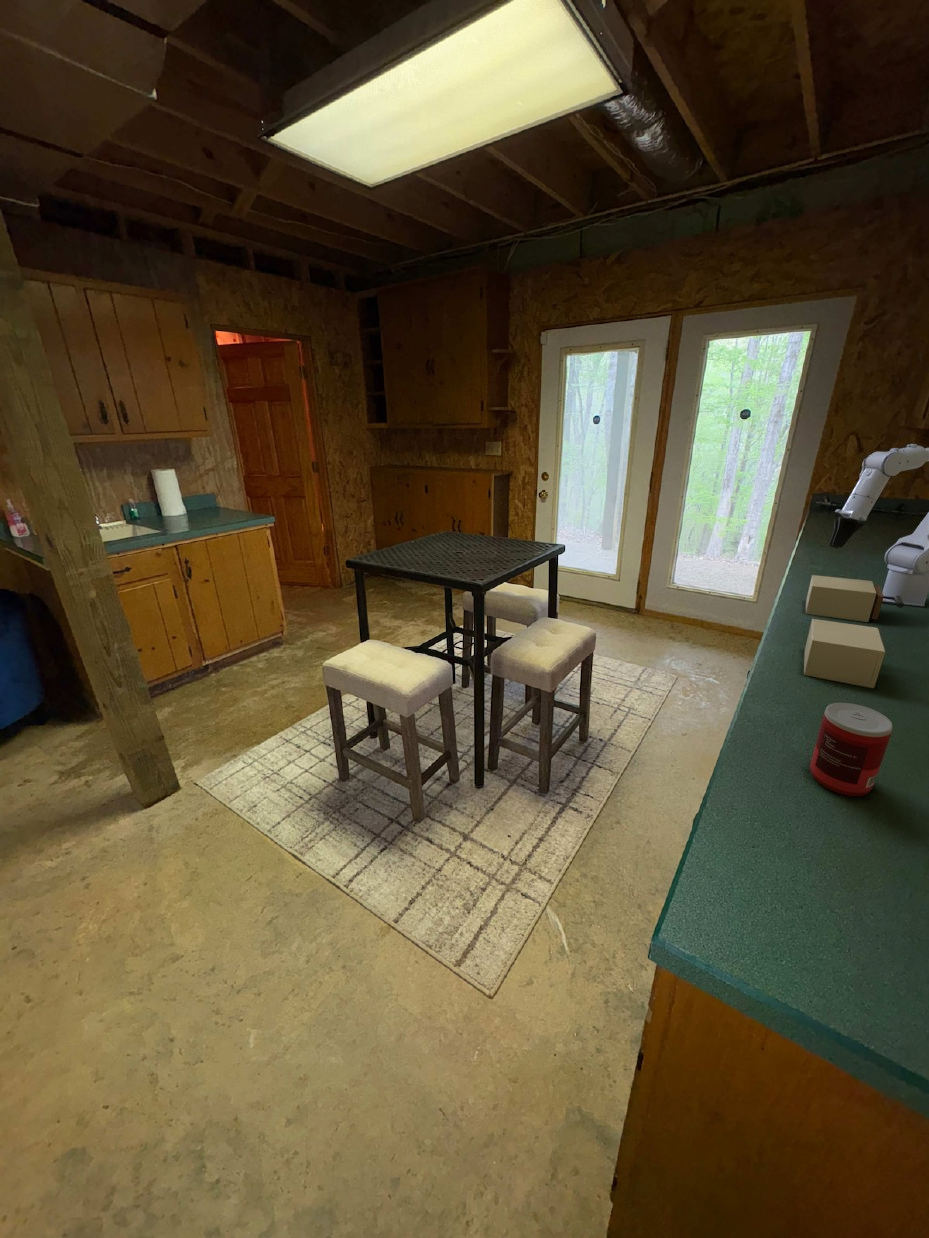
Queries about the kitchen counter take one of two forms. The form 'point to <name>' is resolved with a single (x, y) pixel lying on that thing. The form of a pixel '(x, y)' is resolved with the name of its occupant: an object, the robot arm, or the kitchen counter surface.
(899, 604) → the drawer
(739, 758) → the kitchen counter surface
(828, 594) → the cardboard box
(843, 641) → the cardboard box
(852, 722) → the canned food
